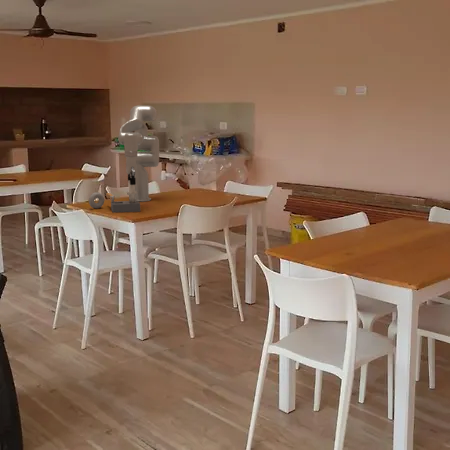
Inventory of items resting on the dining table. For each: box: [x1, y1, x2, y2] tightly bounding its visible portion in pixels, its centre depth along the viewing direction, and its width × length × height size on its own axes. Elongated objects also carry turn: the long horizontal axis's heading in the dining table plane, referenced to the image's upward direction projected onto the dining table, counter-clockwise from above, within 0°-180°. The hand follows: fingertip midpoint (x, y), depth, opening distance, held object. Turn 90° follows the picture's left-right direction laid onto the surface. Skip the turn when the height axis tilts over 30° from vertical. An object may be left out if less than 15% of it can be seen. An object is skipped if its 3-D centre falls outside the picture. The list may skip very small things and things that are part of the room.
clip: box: [105, 192, 116, 201], centre depth 372 cm, size 2×15×2 cm, turn 22°
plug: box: [126, 180, 137, 203], centre depth 365 cm, size 6×6×13 cm
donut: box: [88, 191, 105, 209], centre depth 372 cm, size 10×4×10 cm, turn 128°
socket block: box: [110, 199, 141, 214], centre depth 366 cm, size 11×16×6 cm
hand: (131, 183), depth 365 cm, fingers open, 9 cm apart
